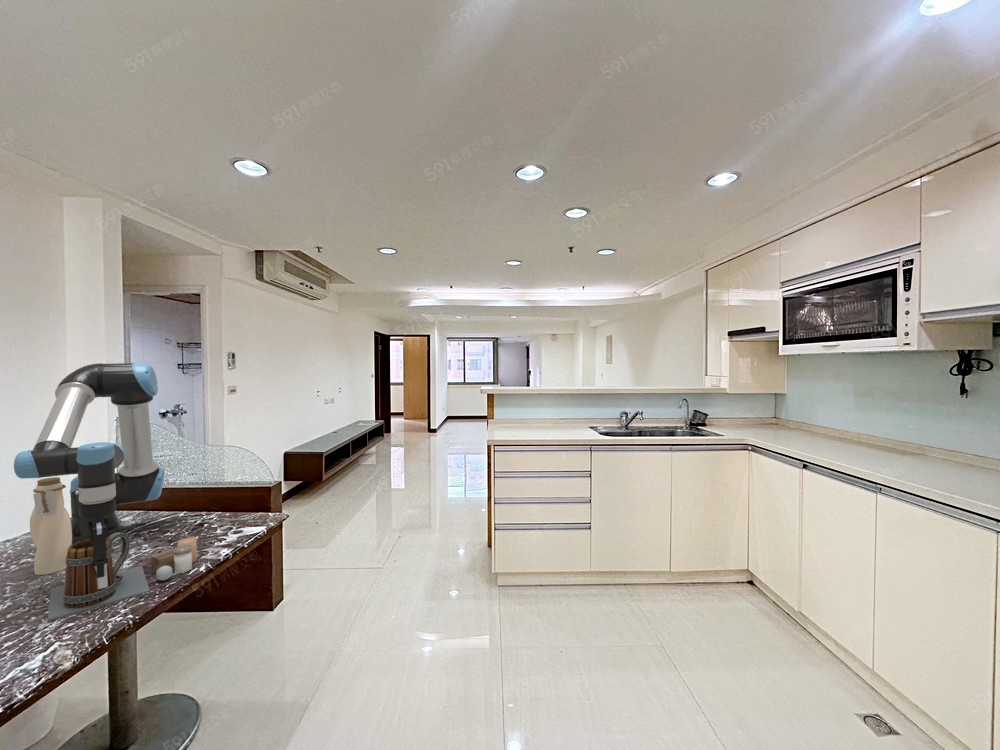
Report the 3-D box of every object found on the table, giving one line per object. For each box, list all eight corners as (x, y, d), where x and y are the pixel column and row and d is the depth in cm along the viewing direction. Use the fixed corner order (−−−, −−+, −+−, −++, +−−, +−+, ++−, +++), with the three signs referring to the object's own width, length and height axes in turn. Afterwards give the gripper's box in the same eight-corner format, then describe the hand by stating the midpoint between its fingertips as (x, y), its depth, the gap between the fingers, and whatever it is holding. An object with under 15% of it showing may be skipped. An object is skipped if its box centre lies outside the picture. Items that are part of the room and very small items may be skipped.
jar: (172, 570, 137) (171, 548, 137) (191, 565, 140) (190, 543, 140) (174, 576, 133) (174, 553, 133) (194, 570, 137) (193, 548, 136)
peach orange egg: (176, 561, 143) (176, 540, 142) (195, 557, 146) (194, 536, 146) (179, 567, 139) (178, 545, 139) (198, 562, 142) (197, 540, 142)
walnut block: (151, 572, 136) (151, 556, 136) (170, 565, 140) (170, 549, 140) (159, 576, 134) (159, 559, 133) (178, 569, 138) (177, 553, 138)
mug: (85, 611, 114) (83, 553, 113) (52, 606, 116) (50, 549, 115) (144, 580, 129) (142, 530, 129) (114, 577, 131) (112, 527, 131)
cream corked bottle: (74, 570, 137) (71, 480, 136) (32, 580, 130) (28, 486, 129) (71, 559, 144) (68, 473, 143) (31, 569, 137) (27, 479, 136)
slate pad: (50, 590, 125) (50, 588, 125) (141, 567, 139) (141, 565, 138) (47, 621, 110) (47, 619, 110) (149, 592, 124) (149, 590, 124)
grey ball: (155, 579, 131) (154, 566, 131) (171, 574, 134) (171, 561, 134) (156, 584, 128) (156, 571, 128) (173, 579, 131) (173, 566, 131)
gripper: (78, 494, 126) (80, 572, 127) (78, 513, 111) (81, 602, 111) (113, 489, 132) (115, 564, 132) (118, 506, 116) (121, 591, 117)
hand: (100, 581), depth 122 cm, fingers open, 9 cm apart
